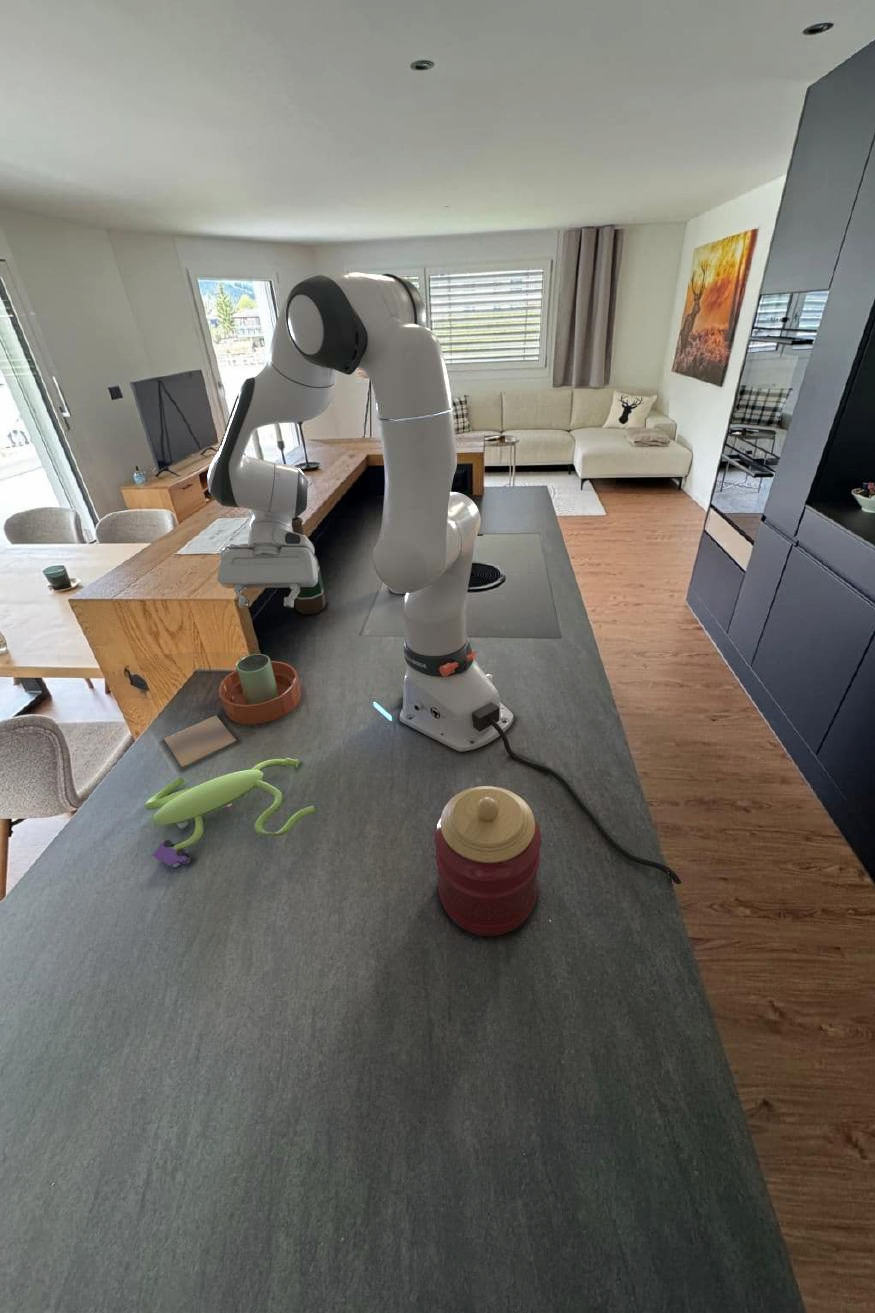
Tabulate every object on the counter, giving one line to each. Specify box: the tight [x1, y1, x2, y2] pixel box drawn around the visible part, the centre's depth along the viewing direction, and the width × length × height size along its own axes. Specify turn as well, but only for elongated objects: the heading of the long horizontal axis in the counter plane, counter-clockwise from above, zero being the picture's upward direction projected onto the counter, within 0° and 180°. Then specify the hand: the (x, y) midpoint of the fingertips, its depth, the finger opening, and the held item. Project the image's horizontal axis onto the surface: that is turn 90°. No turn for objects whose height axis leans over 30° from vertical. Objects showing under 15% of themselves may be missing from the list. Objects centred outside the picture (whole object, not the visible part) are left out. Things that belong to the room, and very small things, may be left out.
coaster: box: [163, 714, 237, 768], centre depth 102 cm, size 10×10×1 cm
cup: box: [235, 653, 279, 705], centre depth 109 cm, size 6×6×9 cm
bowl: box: [218, 660, 302, 726], centre depth 110 cm, size 15×15×5 cm
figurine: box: [144, 756, 316, 869], centre depth 86 cm, size 18×27×6 cm
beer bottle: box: [292, 516, 326, 615], centre depth 138 cm, size 8×8×24 cm
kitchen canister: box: [434, 785, 542, 937], centre depth 69 cm, size 13×13×18 cm
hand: (265, 607), depth 113 cm, fingers open, 8 cm apart
